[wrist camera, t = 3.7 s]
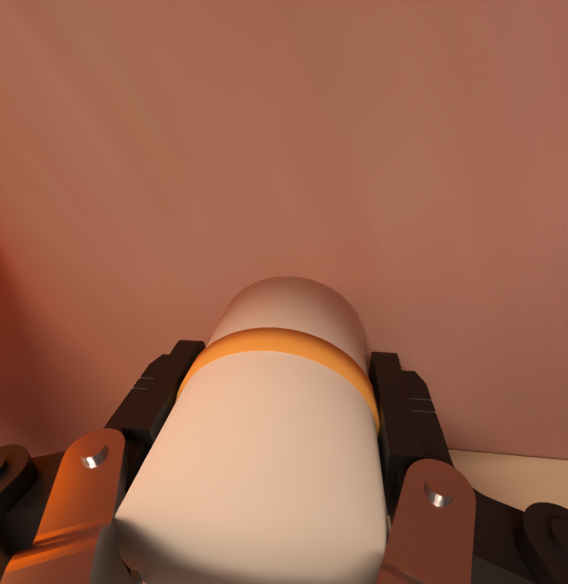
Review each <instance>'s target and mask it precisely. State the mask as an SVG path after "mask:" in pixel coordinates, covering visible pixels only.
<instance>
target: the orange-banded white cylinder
mask: <svg viewBox="0 0 568 584" xmlns="http://www.w3.org/2000/svg"><path fill="white" fill-rule="evenodd" d="M379 426H380V424H379V417H378V410H377V403H376V396H375V393H374V389H373V386H372V384H371V382H370V379H369V371H368V363H367V355H366V348H365V340H364V332H363V328H362V324H361V321H360V319H359V317H358V315H357V313H356V312H355V310H354V309H353V307H352V306H351V305H350V304H349V303H348V302H347V301H346V299H344V298H343V297H342V296H341V295H340V294H338V293H337V292H336V291H334V290H332V289H331V288H329V287H327V286H325V285H323V284H321V283H318V282H315V281H312V280H309V279H304V278H299V277H275V278H269V279H266V280H262V281H259V282H257V283H254V284H252V285H250V286H249V287H247V288H245V289H244V290H242V291H241V292H240V293H239V294H237V295H236V297H235V298H234V299H233V300H232V301H231V303H230V304H229V306H228V307H227V309H226V311H225V313H224V314H223V316H222V318H221V320H220V322H219V324H218V325H217V327H216V329H215V331H214V333H213V335H212V337H211V338H210V340H209V342H208V344H207V346H206V348H205V349H204V350H203V351H202V352H201V353H200V354H199V355H198V356H197V358H196V359H195V361H194V362H193V364H192V366H191V368H190V369H189V371H188V373H187V375H186V377H185V378H184V380H183V382H182V384H181V386H180V388H179V391H178V393H177V397H176V402H175V405H174V407H173V409H172V411H171V413H170V414H169V416H168V418H167V420H166V422H165V424H164V425H163V427H162V429H161V431H160V433H159V435H158V437H157V438H156V440H155V442H154V444H153V446H152V448H151V450H150V451H149V453H148V455H147V457H146V459H145V461H144V463H143V464H142V466H141V468H140V470H139V472H138V474H137V475H136V477H135V479H134V481H133V483H132V485H131V487H130V488H129V490H128V492H127V494H126V496H125V498H124V500H123V501H122V503H121V505H120V507H119V509H118V511H117V513H116V515H115V517H114V520H115V522H116V524H117V526H118V529H119V552H120V556H121V558H122V560H123V561H124V562H125V563H126V565H127V566H128V567H129V568H130V569H131V570H135V571H138V572H139V574H140V576H141V579H142V580H143V581H144V582H145V583H147V584H376V581H377V577H378V574H379V570H380V567H381V564H382V561H383V557H384V554H385V550H386V546H387V543H388V539H389V535H390V534H389V526H388V518H387V511H386V503H385V495H384V487H383V479H382V472H381V464H380V456H379V448H378V441H377V439H378V432H379Z"/></svg>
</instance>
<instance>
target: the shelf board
mask: <svg viewBox="0 0 568 584" xmlns="http://www.w3.org/2000/svg"><path fill="white" fill-rule="evenodd" d="M448 451H449V454H450V457H451V460H452V462H453V465H454V467H455V468H456V469H457V470H458V471H459V472H460V473H461V474H462V475H463V476H464V477H465V478H466V479H467V480H468V482H469V483H470V485H471V486H472V487H473V488H474V489H475V490H477V491H478V492H480V493H482V494H483V495H485V496H487V497H489V498H492V499H494V500H496V501H499V502H502V503H504V504H507V505H509V506H512V507H514V508H517V509H519V510H522V511H524V512H525V510H526V508H527V507H528V506H530V505H531V504H534V503H538V502H548V503H553V504H557V505H560V506H562V507H565V508H567V509H568V460H559V459H548V458H537V457H526V456H515V455H504V454H493V453H482V452H471V451H461V450H450V449H448ZM387 518H388V526H389V534H390V531H391V523H390V516H387Z"/></svg>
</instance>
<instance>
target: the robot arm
mask: <svg viewBox="0 0 568 584" xmlns="http://www.w3.org/2000/svg"><path fill="white" fill-rule="evenodd" d="M205 348H206V347H205V344H204V342H203V341H191V340H180V341H178V343H177V344H176V345H175V347H174V348H173V350H172V351H171V353H170V354H169V355H166V354H163V355H161V356H160V357H159V358H157V359H156V360H155V361H153V362H152V363H151V364H149V366H148V367H147V368H146V370H145V371H144V373H143V374H142V375H141V379H139V380H138V381H137V382H136V384H135V385H134V388H133V389H131V391H130V392H129V394H128V395H127V396H126V398H125V399H124V400H123V402H122V403H121V405H120V406H119V407H118V409H117V410H116V412H115V413H114V414H113V416H112V417H111V419H110V420H109V421H108V423H107V424H106V426H105V427H104V428H103V429H98V430H95V431H92V432H89V433H87V434H85V435H84V436H82V437H81V438H79V439H78V440H76V441H75V442H74V443H73V444H72V445H71V446H70V447H69V448H68V450H67V451H66V452H61V453H56V454H51V455H46V456H40V457H35V458H32V457H31V456H30V454H29V452H28V451H27V449H26V448H25V447H23V446H21V445H15V444H12V445H6V446H2V447H0V584H143V580H142V579H141V576H140V574H139V572H138V571H135V570H131V569H130V568H129V567H128V566H127V565H126V563H125V562H124V561H123V560H122V558H121V556H120V552H119V529H118V526H117V524H116V522H115V520H114V517H115V515H116V513H117V511H118V509H119V507H120V505H121V503H122V501H123V500H124V498H125V496H126V494H127V492H128V490H129V488H130V487H131V485H132V483H133V481H134V479H135V477H136V475H137V474H138V472H139V470H140V468H141V466H142V464H143V463H144V461H145V459H146V457H147V455H148V453H149V451H150V450H151V448H152V446H153V444H154V442H155V440H156V438H157V437H158V435H159V433H160V431H161V429H162V427H163V425H164V424H165V422H166V420H167V418H168V416H169V414H170V413H171V411H172V409H173V407H174V405H175V402H176V397H177V393H178V391H179V388H180V386H181V384H182V382H183V380H184V378H185V377H186V375H187V373H188V371H189V369H190V368H191V366H192V364H193V362H194V361H195V359H196V358H197V356H198V355H199V354H200V353H201V352H202V351H203V350H204V349H205ZM369 379H370V382H371V384H372V386H373V389H374V393H375V396H376V403H377V410H378V417H379V424H380V426H379V432H378V439H377V441H378V448H379V456H380V464H381V472H382V479H383V487H384V495H385V503H386V511H387V516H390V523H391V531H390V535H389V539H388V543H387V546H386V550H385V554H384V557H383V561H382V564H381V567H380V570H379V574H378V577H377V581H376V584H568V509H567V508H565V507H562V506H560V505H557V504H553V503H548V502H538V503H534V504H531V505H530V506H528V507H527V508H526V510H525V512H524V511H522V510H519V509H517V508H514V507H512V506H509V505H507V504H504V503H502V502H499V501H496V500H494V499H492V498H489V497H487V496H485V495H483V494H482V493H480V492H478V491H477V490H475V489H474V488H473V487H472V486H471V485H470V483H469V482H468V480H467V479H466V478H465V477H464V476H463V475H462V474H461V473H460V472H459V471H458V470H457V469H456V468H455V467H454V465H453V462H452V460H451V457H450V454H449V451H448V448H447V445H446V442H445V439H444V436H443V433H442V430H441V427H440V424H439V421H438V418H437V415H436V414H435V409H434V406H433V403H432V401H431V397H430V394H429V391H428V388H427V385H426V383H425V382H424V381H423V380H422V379H421V378H420V377H419V376H418V374H417V373H416V372H415V371H403V370H401V366H400V362H399V358H398V355H397V353H385V352H372V353H371V358H370V366H369Z"/></svg>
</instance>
